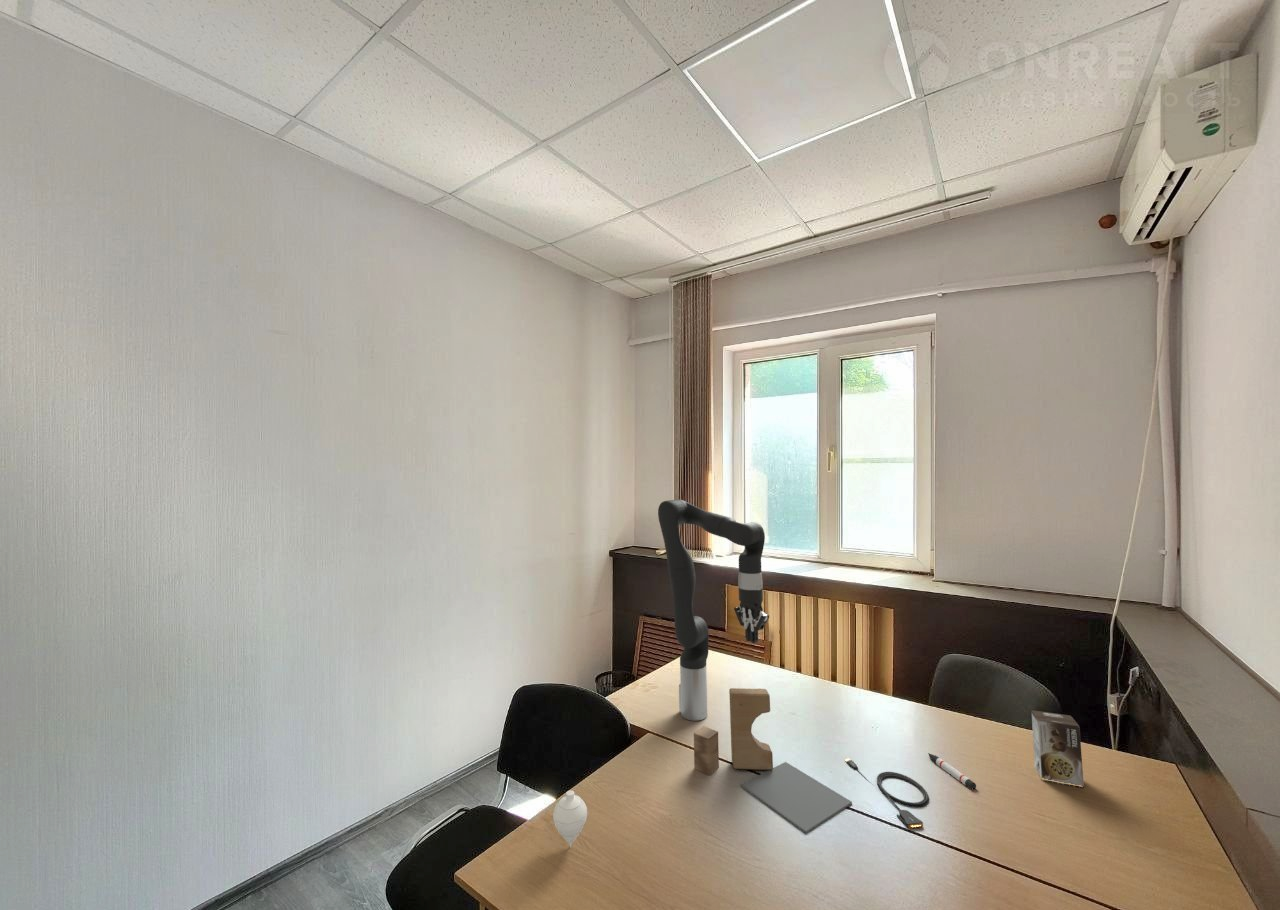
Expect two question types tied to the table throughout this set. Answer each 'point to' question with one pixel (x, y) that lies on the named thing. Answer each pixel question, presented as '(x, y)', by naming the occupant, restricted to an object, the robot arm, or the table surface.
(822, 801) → the mat
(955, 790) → the table surface
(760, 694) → the decorative block
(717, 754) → the walnut block
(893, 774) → the cable
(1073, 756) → the coffee box
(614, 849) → the table surface
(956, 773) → the marker
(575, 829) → the spinning top
